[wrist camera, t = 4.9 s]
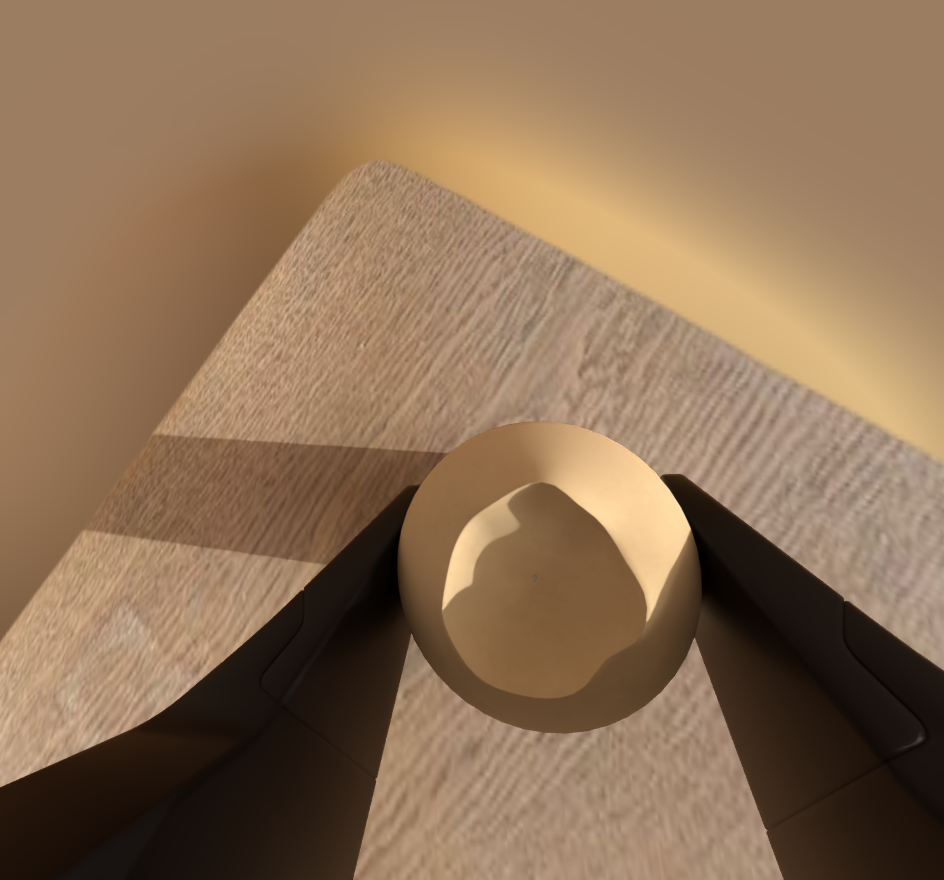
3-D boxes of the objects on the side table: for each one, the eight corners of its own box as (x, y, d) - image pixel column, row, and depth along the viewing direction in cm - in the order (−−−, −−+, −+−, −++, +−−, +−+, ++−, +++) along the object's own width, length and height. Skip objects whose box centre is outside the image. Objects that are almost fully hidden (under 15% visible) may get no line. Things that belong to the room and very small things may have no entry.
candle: (494, 446, 16) (406, 376, 6) (627, 475, 15) (780, 443, 5) (465, 573, 15) (319, 714, 6) (599, 614, 14) (710, 886, 4)
